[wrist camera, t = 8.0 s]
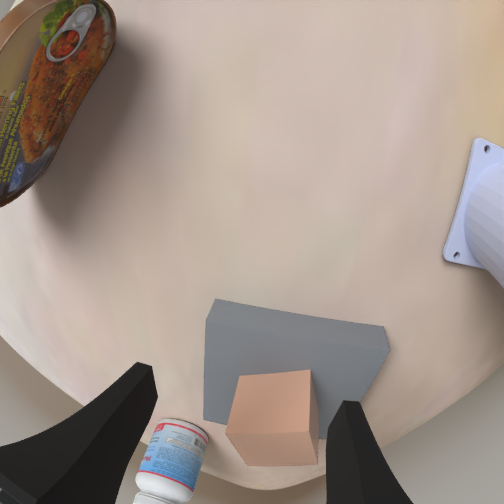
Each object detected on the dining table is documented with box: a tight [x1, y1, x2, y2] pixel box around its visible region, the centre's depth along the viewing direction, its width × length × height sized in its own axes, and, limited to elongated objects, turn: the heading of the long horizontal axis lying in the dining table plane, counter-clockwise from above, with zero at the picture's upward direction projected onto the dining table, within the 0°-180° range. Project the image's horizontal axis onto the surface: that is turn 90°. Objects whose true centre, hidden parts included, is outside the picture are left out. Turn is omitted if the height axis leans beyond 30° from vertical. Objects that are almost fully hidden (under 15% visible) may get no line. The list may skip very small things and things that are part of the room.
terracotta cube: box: [225, 370, 319, 466], centre depth 18 cm, size 5×5×5 cm
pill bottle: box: [133, 419, 208, 504], centre depth 25 cm, size 6×6×11 cm
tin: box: [0, 0, 116, 207], centre depth 12 cm, size 15×3×8 cm, turn 138°
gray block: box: [203, 299, 390, 439], centre depth 22 cm, size 12×12×3 cm
